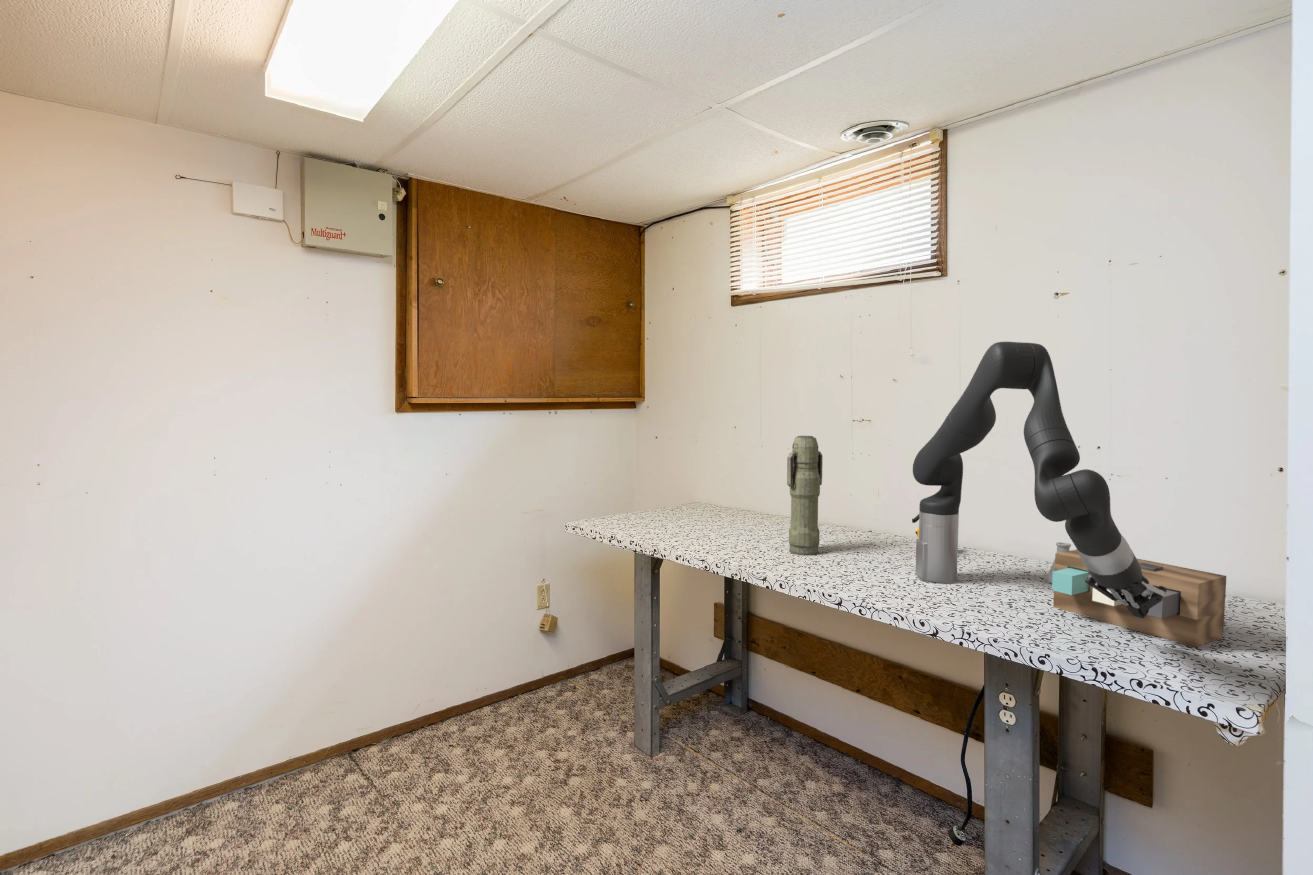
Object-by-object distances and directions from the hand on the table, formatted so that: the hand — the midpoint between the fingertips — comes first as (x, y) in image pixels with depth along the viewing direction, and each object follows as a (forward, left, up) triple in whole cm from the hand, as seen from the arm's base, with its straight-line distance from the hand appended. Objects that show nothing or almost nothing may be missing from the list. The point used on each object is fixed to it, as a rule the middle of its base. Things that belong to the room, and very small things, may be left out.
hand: (1140, 613), depth 119 cm
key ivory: (+2, +11, -1) cm, 11 cm away
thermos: (-54, +67, -6) cm, 87 cm away
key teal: (-3, +17, -1) cm, 18 cm away
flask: (+7, +42, -7) cm, 44 cm away
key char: (+6, +4, -1) cm, 8 cm away
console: (+7, +15, -6) cm, 18 cm away
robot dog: (-18, +67, -6) cm, 70 cm away
